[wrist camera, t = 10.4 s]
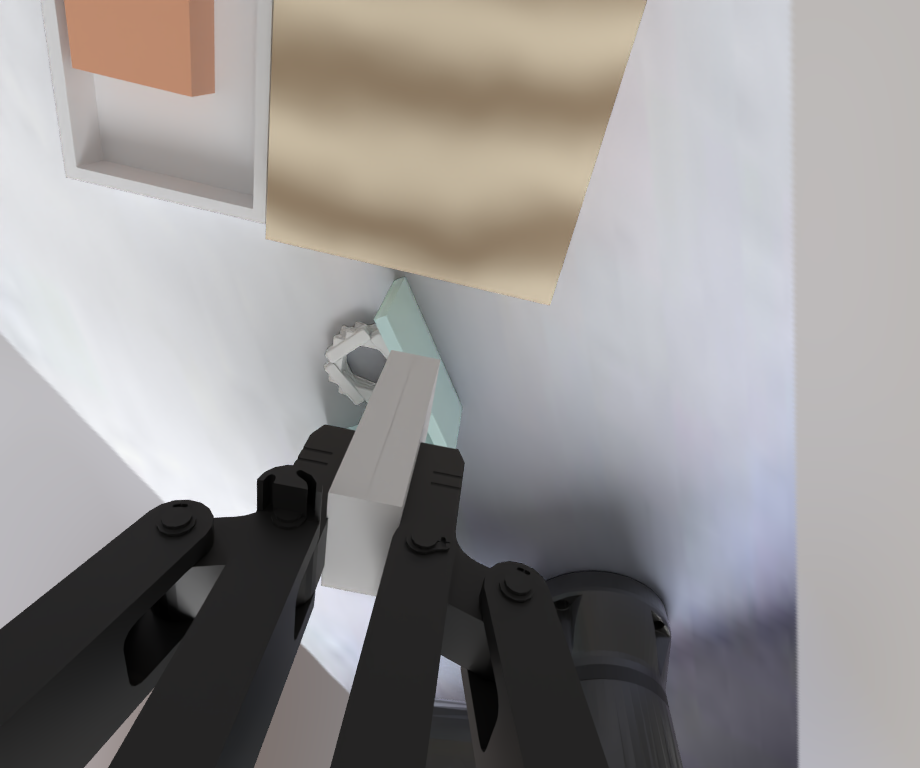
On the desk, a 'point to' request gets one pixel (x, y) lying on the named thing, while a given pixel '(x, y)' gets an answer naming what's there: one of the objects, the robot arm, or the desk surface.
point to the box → (173, 120)
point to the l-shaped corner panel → (403, 333)
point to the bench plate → (442, 131)
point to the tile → (145, 42)
